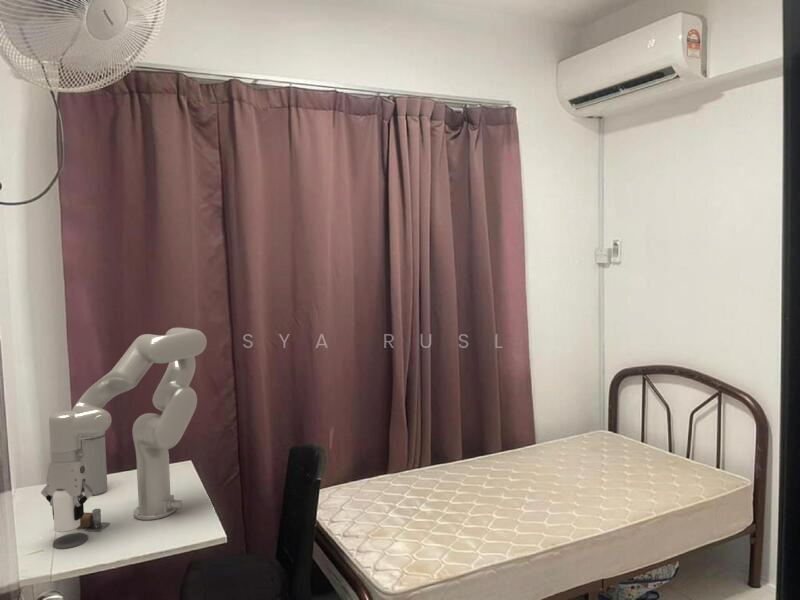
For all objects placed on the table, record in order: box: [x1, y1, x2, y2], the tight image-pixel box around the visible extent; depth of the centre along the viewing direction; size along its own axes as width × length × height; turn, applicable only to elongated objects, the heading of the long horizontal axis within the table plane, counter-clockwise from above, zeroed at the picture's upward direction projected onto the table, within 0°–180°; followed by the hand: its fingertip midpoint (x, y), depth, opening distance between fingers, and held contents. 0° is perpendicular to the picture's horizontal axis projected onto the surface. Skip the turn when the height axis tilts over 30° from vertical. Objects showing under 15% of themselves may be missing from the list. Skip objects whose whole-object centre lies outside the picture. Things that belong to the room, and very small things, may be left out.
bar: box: [79, 512, 93, 527], centre depth 183 cm, size 4×11×4 cm, turn 83°
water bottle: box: [80, 431, 108, 496], centre depth 210 cm, size 9×8×25 cm
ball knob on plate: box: [83, 508, 111, 533], centre depth 182 cm, size 5×5×6 cm
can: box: [53, 490, 81, 533], centre depth 173 cm, size 6×6×12 cm
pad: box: [52, 532, 89, 550], centre depth 174 cm, size 9×9×1 cm
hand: (68, 517), depth 173 cm, fingers closed on can, 5 cm apart
